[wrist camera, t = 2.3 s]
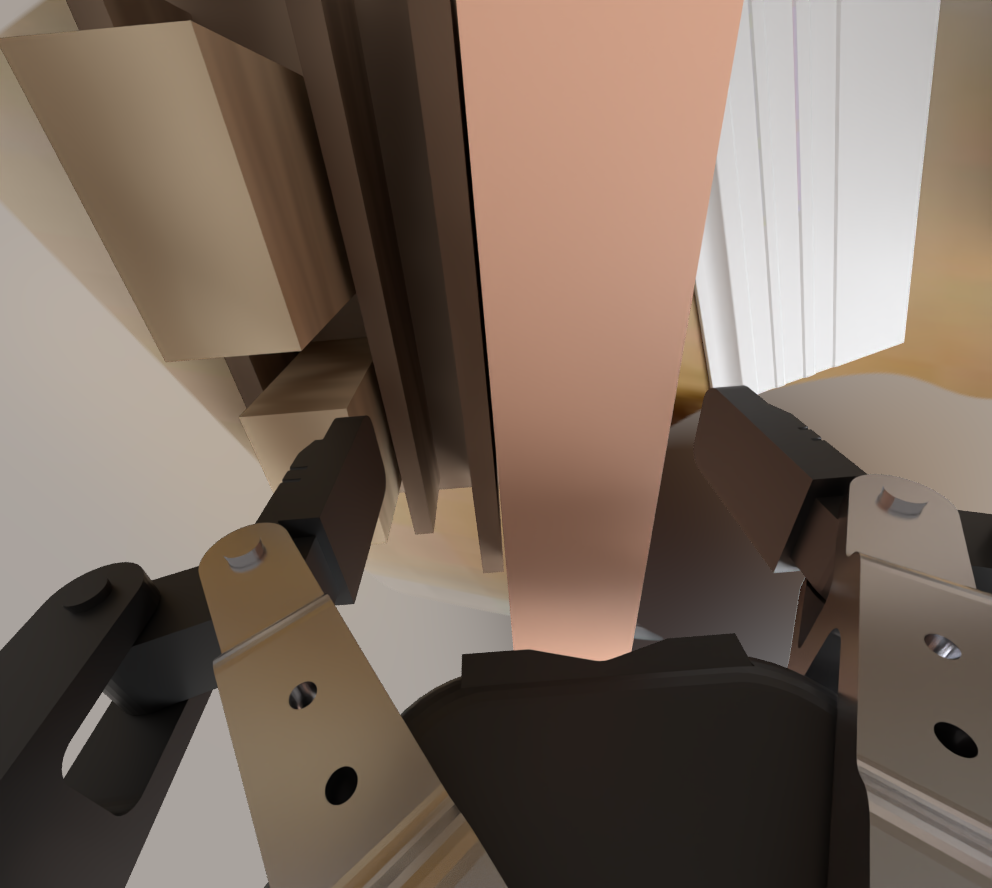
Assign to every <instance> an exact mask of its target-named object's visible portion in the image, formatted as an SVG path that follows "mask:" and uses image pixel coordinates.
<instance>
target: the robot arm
mask: <svg viewBox="0 0 992 888" xmlns="http://www.w3.org/2000/svg"><path fill="white" fill-rule="evenodd" d="M694 458H695V462H696V465H697V467H698V469H699V470H700V472H701V473H702V475H703V476H704V477H705V479H706V480H707V482H708V483H709V484H710V485H711V487H712V488H713V490H714V491H715V492H716V494H717V495H718V497H719V498H720V499H721V501H722V502H723V504H724V505H725V506H726V508H727V509H728V511H729V512H730V513H731V515H732V516H733V517H734V519H735V520H736V522H737V523H738V524H739V526H740V527H741V528H742V530H743V531H744V533H745V534H746V535H747V537H748V538H749V539H750V541H751V542H752V544H753V545H754V546H755V548H756V549H757V550H758V552H759V553H760V555H761V556H762V558H763V559H764V560H765V562H766V563H767V564H768V566H769V567H770V569H771V570H772V571H773V573H778V572H790V571H801V572H802V573H803V575H804V576H805V579H804V581H803V583H802V585H801V587H800V591H799V597H798V605H797V610H796V617H795V624H794V630H793V638H792V644H791V651H790V657H789V662H788V666H787V668H785V667H783V666H780V665H777V664H775V663H772V662H768V661H765V660H761V659H757V658H753V657H748V656H747V654H746V653H745V651H744V649H743V647H742V645H741V643H740V642H739V640H738V638H737V636H736V634H735V633H733V634H721V635H707V636H694V637H682V638H669V639H665V640H662V641H660V642H657V643H654V644H651V645H648V646H646V647H643V648H640V649H638V650H635V651H632V652H629V653H626V654H623V655H621V656H618V657H615V658H612V659H609V660H606V661H594V660H589V659H583V658H577V657H571V656H565V655H560V654H554V653H548V652H542V651H536V650H531V649H525V650H513V651H500V652H486V653H473V654H463V655H462V676H461V677H458V678H455V679H453V680H450V681H448V682H446V683H444V684H442V685H440V686H438V687H436V688H434V689H433V690H431V691H430V692H428V693H427V694H425V695H423V696H422V697H420V698H419V699H418V700H417V701H415V702H414V703H413V704H412V705H411V706H409V707H408V708H407V709H406V710H405V711H404V712H403V713H402V714H401V715H400V714H399V712H398V710H397V708H396V707H395V705H394V703H393V702H392V700H391V698H390V697H389V695H388V693H387V692H386V690H385V688H384V687H383V685H382V683H381V682H380V680H379V678H378V677H377V675H376V673H375V672H374V670H373V668H372V667H371V665H370V663H369V662H368V660H367V658H366V657H365V655H364V653H363V652H362V650H361V648H360V647H359V645H358V644H357V642H356V640H355V638H354V637H353V635H352V633H351V631H350V630H349V628H348V627H347V625H346V623H345V622H344V620H343V618H342V617H341V615H340V613H339V611H338V610H337V608H336V607H335V605H347V604H354V603H355V600H356V596H357V592H358V589H359V585H360V582H361V578H362V574H363V571H364V567H365V564H366V560H367V556H368V553H369V549H370V546H371V542H372V539H373V535H374V531H375V528H376V524H377V521H378V517H379V513H380V510H381V506H382V503H383V499H384V495H385V491H386V474H385V468H384V464H383V460H382V457H381V453H380V449H379V445H378V442H377V438H376V434H375V430H374V427H373V423H372V421H371V419H370V417H369V416H367V415H365V416H352V417H340V418H335V419H334V420H333V422H332V424H331V426H330V427H329V429H328V431H327V433H326V435H325V436H324V438H323V439H321V440H314V441H313V442H312V443H311V444H309V445H308V446H307V447H306V448H304V449H303V450H302V451H301V452H299V453H298V455H297V456H296V458H295V460H294V461H293V463H292V465H291V466H290V471H287V473H286V474H285V476H284V478H283V479H282V483H280V484H279V486H278V487H277V489H276V491H275V492H274V494H273V495H272V497H271V499H270V500H269V502H268V504H267V505H266V507H265V508H264V510H263V512H262V513H261V515H260V517H259V518H258V520H257V521H256V523H255V524H253V525H248V526H245V527H243V528H240V529H237V530H235V531H233V532H231V533H229V534H228V535H226V536H224V537H223V538H221V539H220V540H219V541H217V542H216V543H215V544H214V545H213V546H212V547H211V548H210V549H209V550H208V551H207V552H206V553H205V555H204V556H203V558H202V560H201V562H200V564H199V566H198V567H194V568H191V569H188V570H184V571H181V572H178V573H175V574H171V575H168V576H165V577H162V578H158V579H155V580H151V579H150V578H149V577H148V575H147V574H146V573H145V571H144V570H143V569H142V568H141V567H140V566H139V565H138V564H134V563H129V562H124V563H123V562H122V563H115V564H110V565H107V566H103V567H100V568H97V569H95V570H92V571H90V572H88V573H86V574H84V575H82V576H80V577H78V578H76V579H74V580H73V581H71V582H70V583H68V584H66V585H65V586H64V587H62V588H61V589H59V590H58V591H57V592H56V593H55V594H53V595H52V596H51V597H50V598H49V599H48V600H47V601H46V602H45V603H44V604H43V605H42V606H41V607H40V608H39V609H38V610H37V612H36V613H35V614H34V615H33V616H32V617H31V618H30V619H29V620H28V622H26V623H25V625H24V626H23V627H22V628H21V629H20V630H19V631H18V632H17V633H16V634H15V636H14V637H13V638H12V639H11V640H10V641H9V642H8V643H7V644H6V645H5V646H4V647H3V649H2V650H1V651H0V888H125V886H126V884H127V881H128V879H129V877H130V875H131V872H132V870H133V868H134V866H135V864H136V861H137V859H138V856H139V854H140V852H141V850H142V848H143V845H144V843H145V841H146V839H147V837H148V834H149V832H150V830H151V827H152V825H153V823H154V821H155V818H156V816H157V814H158V812H159V809H160V807H161V805H162V803H163V800H164V798H165V796H166V794H167V792H168V789H169V787H170V785H171V782H172V780H173V778H174V776H175V774H176V771H177V769H178V767H179V765H180V762H181V760H182V758H183V756H184V753H185V751H186V749H187V746H188V744H189V742H190V740H191V738H192V735H193V733H194V731H195V729H196V726H197V724H198V722H199V719H200V717H201V715H202V713H203V711H204V708H205V706H206V704H207V702H208V699H209V697H210V695H211V693H212V690H213V689H216V688H218V690H219V694H220V697H221V701H222V705H223V709H224V713H225V717H226V720H227V724H228V728H229V732H230V736H231V740H232V743H233V748H234V751H235V755H236V759H237V763H238V767H239V771H240V774H241V778H242V782H243V786H244V790H245V794H246V798H247V801H248V805H249V809H250V813H251V817H252V821H253V824H254V828H255V832H256V836H257V840H258V844H259V847H260V851H261V855H262V859H263V863H264V867H265V871H266V874H267V878H268V883H267V884H266V886H265V887H264V888H992V514H985V513H977V512H969V511H961V510H957V509H956V507H955V506H954V505H953V504H952V503H951V502H950V501H949V500H948V499H946V498H945V497H944V496H943V495H941V494H940V493H938V492H936V491H934V490H933V489H930V488H928V487H927V486H924V485H922V484H920V483H917V482H914V481H911V480H908V479H904V478H901V477H896V476H891V475H883V474H866V473H865V472H864V471H863V470H861V469H860V468H859V467H858V466H856V465H855V464H854V463H852V462H851V461H850V460H849V459H848V458H846V457H845V456H844V455H843V454H841V453H840V452H839V451H838V450H836V449H835V448H833V446H831V445H830V444H829V443H827V442H826V441H825V440H823V441H822V440H821V437H820V436H819V435H817V434H816V433H815V432H814V431H812V430H808V427H807V426H806V425H805V424H803V423H802V422H801V421H800V420H799V419H797V418H796V417H795V416H794V415H792V414H791V413H788V412H786V411H784V410H782V409H779V408H777V407H775V406H773V405H771V404H768V403H767V402H766V401H765V400H763V399H762V398H761V397H760V396H758V395H757V394H756V393H755V392H754V391H752V390H751V389H750V388H749V387H747V386H745V385H740V386H728V387H716V388H710V389H709V390H708V391H707V392H706V394H705V396H704V400H703V404H702V409H701V414H700V418H699V423H698V428H697V432H696V437H695V442H694ZM102 692H103V693H104V694H105V695H107V696H108V697H109V698H110V699H111V700H112V702H111V704H110V705H109V707H108V708H107V710H106V712H105V713H104V715H103V716H102V718H101V720H100V721H99V723H98V724H97V726H96V728H95V729H94V731H93V732H92V734H91V736H90V737H89V739H88V741H87V742H86V744H85V745H84V747H83V749H82V750H81V752H80V753H79V755H78V757H77V758H76V760H75V761H74V763H73V765H72V766H71V768H70V769H69V771H68V773H67V774H66V776H65V778H64V779H63V776H62V762H63V757H64V754H65V751H66V749H67V747H68V744H69V743H70V741H71V739H72V738H73V736H74V735H75V733H76V732H77V730H78V729H79V727H80V725H81V724H82V722H83V721H84V719H85V718H86V716H87V715H88V713H89V712H90V710H91V709H92V707H93V706H94V704H95V702H96V701H97V699H98V698H99V696H100V695H101V693H102Z"/></svg>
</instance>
